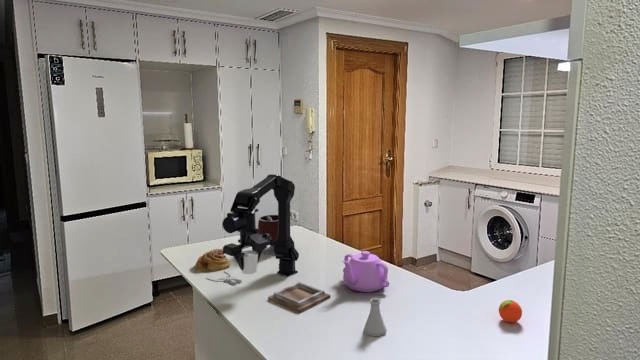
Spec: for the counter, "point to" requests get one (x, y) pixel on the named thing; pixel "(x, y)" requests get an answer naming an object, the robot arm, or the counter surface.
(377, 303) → the flask
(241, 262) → the robot arm
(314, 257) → the counter surface
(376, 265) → the teapot
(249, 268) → the shot glass
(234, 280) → the pliers
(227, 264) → the pastry
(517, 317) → the clementine
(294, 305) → the brown square tray
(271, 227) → the dark red goblet shape
